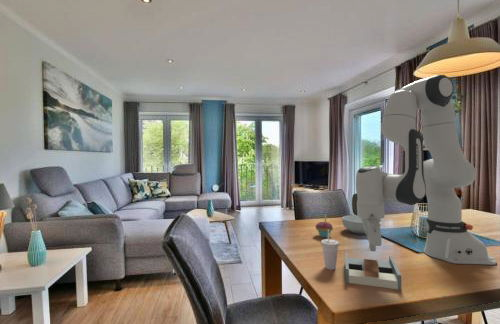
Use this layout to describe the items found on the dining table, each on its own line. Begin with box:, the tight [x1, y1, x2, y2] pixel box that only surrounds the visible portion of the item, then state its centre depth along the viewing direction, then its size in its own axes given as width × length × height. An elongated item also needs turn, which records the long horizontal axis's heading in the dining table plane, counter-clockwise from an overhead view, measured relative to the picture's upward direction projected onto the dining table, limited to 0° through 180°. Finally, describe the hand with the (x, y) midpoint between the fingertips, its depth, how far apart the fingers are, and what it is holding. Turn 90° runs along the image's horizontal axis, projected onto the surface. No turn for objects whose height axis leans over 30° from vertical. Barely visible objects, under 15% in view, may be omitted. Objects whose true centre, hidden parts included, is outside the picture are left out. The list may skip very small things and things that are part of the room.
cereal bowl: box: [341, 215, 366, 235], centre depth 142 cm, size 17×17×7 cm
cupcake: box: [315, 214, 334, 238], centre depth 135 cm, size 9×8×12 cm
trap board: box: [344, 251, 402, 291], centre depth 91 cm, size 16×16×4 cm
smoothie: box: [320, 230, 340, 271], centre depth 98 cm, size 6×6×14 cm
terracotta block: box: [363, 258, 379, 278], centre depth 86 cm, size 4×4×4 cm
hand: (372, 250), depth 95 cm, fingers closed
